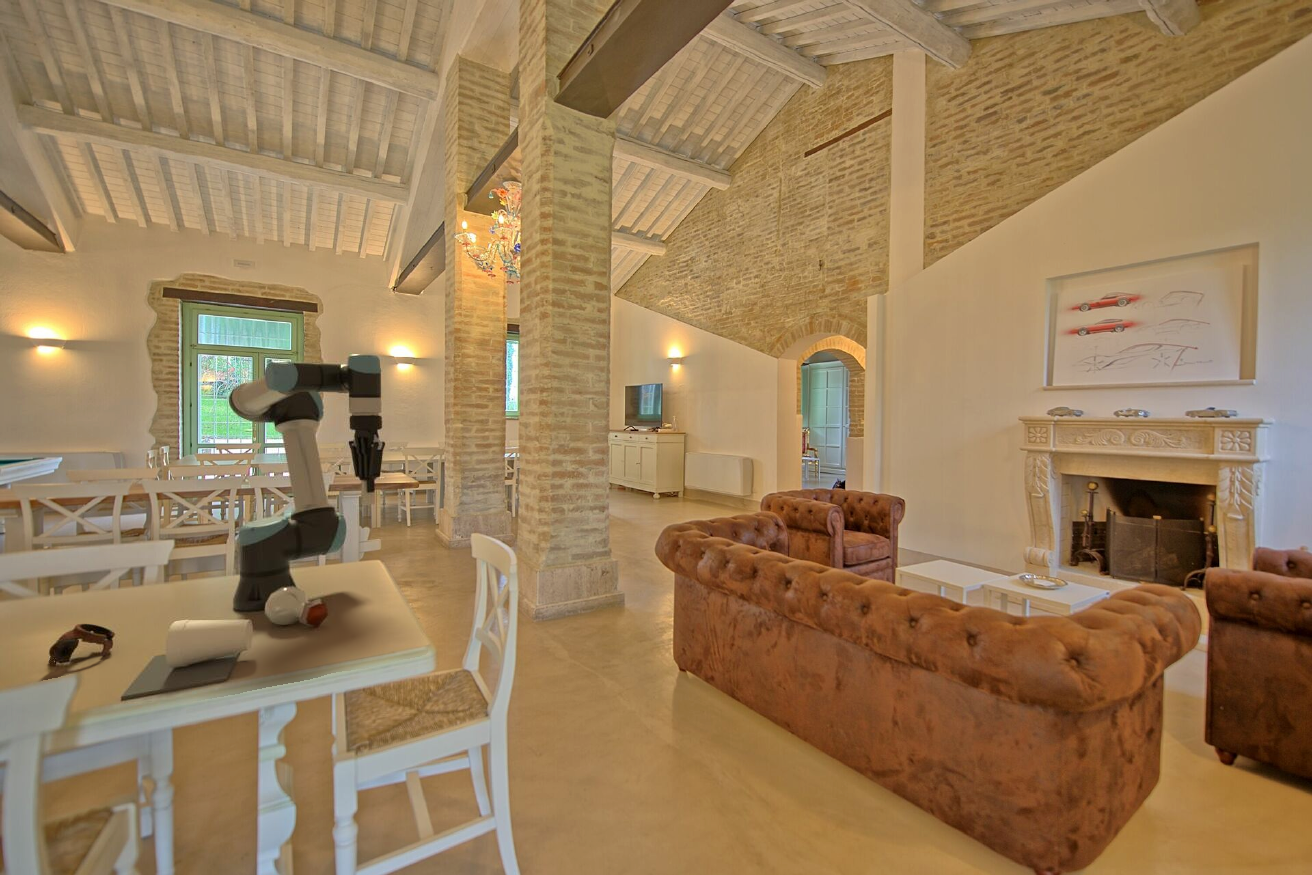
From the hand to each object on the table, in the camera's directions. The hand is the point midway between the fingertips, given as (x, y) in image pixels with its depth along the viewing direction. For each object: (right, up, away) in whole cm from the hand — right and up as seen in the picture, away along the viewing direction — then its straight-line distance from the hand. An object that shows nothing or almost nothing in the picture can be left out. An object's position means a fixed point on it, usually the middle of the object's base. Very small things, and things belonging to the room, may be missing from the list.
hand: (368, 504), depth 149 cm
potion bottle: (-16, -30, -5) cm, 34 cm away
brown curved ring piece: (-51, -31, -25) cm, 65 cm away
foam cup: (-13, -26, -25) cm, 38 cm away
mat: (-23, -31, -30) cm, 49 cm away
